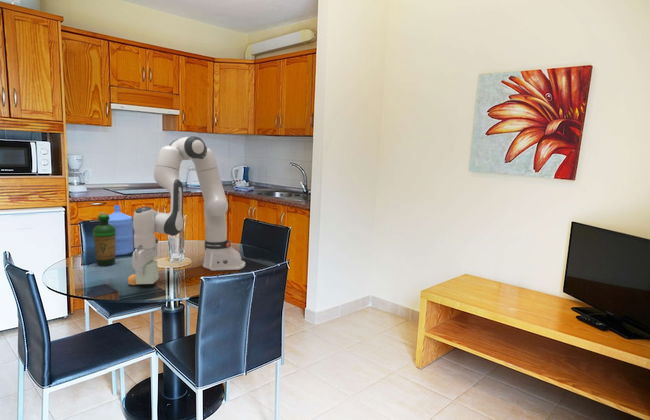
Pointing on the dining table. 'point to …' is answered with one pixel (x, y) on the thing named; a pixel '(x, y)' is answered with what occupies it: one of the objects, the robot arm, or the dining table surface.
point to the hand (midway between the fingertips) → (145, 272)
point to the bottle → (104, 241)
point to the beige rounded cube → (148, 273)
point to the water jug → (122, 231)
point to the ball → (132, 280)
